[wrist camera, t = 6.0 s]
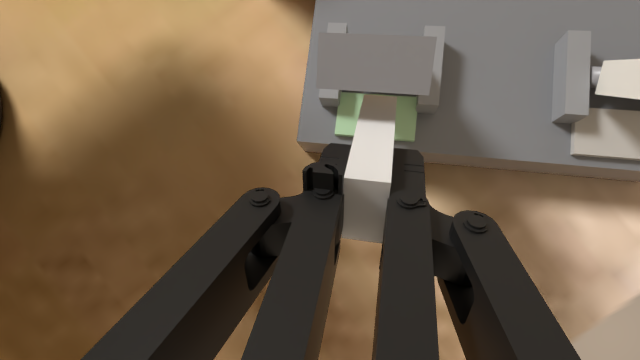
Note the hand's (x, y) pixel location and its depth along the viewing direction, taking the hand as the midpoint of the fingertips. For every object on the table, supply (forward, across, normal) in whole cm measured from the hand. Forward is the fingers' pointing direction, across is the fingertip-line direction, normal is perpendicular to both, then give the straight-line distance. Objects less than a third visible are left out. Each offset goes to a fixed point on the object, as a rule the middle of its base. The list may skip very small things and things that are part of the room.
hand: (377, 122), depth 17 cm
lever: (+7, 0, 0) cm, 7 cm away
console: (+11, +6, -1) cm, 13 cm away
